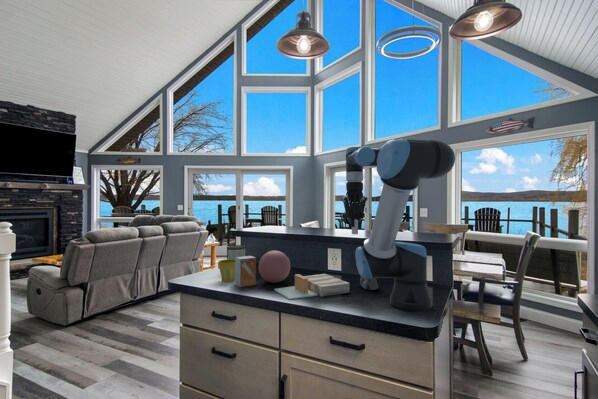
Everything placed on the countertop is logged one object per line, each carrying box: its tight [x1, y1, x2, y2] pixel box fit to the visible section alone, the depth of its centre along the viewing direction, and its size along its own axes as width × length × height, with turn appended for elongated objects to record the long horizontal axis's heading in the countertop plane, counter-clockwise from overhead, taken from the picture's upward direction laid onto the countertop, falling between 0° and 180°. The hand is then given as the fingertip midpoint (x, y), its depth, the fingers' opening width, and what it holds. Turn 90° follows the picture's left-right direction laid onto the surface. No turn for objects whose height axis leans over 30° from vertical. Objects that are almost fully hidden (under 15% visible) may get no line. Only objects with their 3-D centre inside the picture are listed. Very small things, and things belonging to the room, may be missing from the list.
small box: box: [234, 255, 257, 288], centre depth 152 cm, size 8×6×13 cm
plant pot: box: [217, 258, 235, 283], centre depth 160 cm, size 10×10×10 cm
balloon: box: [258, 249, 291, 284], centre depth 158 cm, size 15×20×15 cm
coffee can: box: [226, 244, 246, 259], centre depth 181 cm, size 10×10×14 cm
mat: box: [273, 285, 319, 301], centre depth 138 cm, size 16×13×1 cm
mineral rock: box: [359, 276, 379, 291], centre depth 148 cm, size 13×11×10 cm
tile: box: [294, 273, 308, 293], centre depth 140 cm, size 9×6×2 cm
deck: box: [304, 273, 350, 298], centre depth 144 cm, size 20×14×4 cm
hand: (354, 234), depth 145 cm, fingers closed
